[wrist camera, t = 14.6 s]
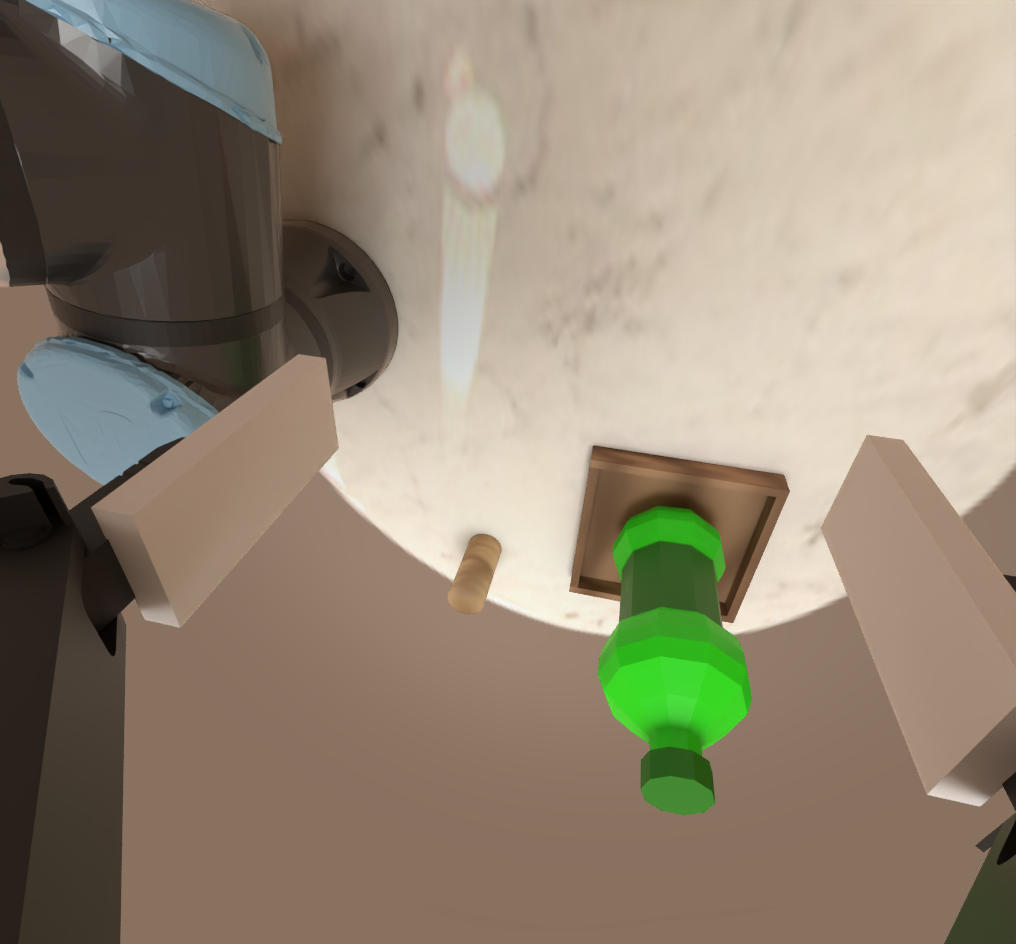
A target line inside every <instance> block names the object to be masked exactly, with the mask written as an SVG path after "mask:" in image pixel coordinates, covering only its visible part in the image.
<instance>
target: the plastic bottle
mask: <svg viewBox="0 0 1016 944" xmlns="http://www.w3.org/2000/svg"><path fill="white" fill-rule="evenodd" d="M612 554H613V558H614V561H615V564H616V567H617V570H618V574H619V577H620V579H621V598H620V616H619V624H618V625H617V627H616V628H615V630H614V631H613V633H612V634H611V636H610V637H609V639H608V640H607V642H606V643H605V645H604V647H603V650H602V653H601V655H600V658H599V667H598V676H599V679H600V682H601V685H602V688H603V691H604V693H605V696H606V699H607V701H608V704H609V706H610V709H611V712H612V714H613V716H614V717H615V718H616V719H617V720H618V721H620V722H621V723H622V724H623V725H624V726H626V727H627V728H628V729H629V730H630V731H632V732H633V733H634V734H636V735H637V736H639V737H640V738H642V739H643V740H644V741H646V742H647V743H649V744H650V751H649V752H648V753H647V754H646V755H645V756H644V757H643V758H642V759H641V791H642V793H643V796H644V799H645V801H647V802H648V803H650V804H652V805H653V806H655V807H657V808H658V809H660V810H662V811H667V812H672V813H677V814H682V815H687V814H695V813H704V812H705V811H707V810H708V809H709V808H710V807H712V806H713V805H714V804H715V796H714V785H713V774H712V770H711V766H710V762H709V761H708V760H707V759H705V758H703V757H702V750H703V749H705V748H707V747H709V746H711V745H712V744H713V743H715V742H716V741H718V740H719V739H721V738H722V737H724V736H725V735H726V734H727V733H728V732H729V731H730V730H731V729H732V728H734V727H735V726H736V725H737V724H738V723H739V722H740V721H741V720H742V719H743V718H744V717H745V716H746V715H747V714H748V711H749V707H750V704H751V701H752V696H751V690H750V684H749V679H748V673H747V668H746V662H745V657H744V652H743V650H742V647H741V645H740V643H739V641H738V639H737V638H736V637H735V636H734V635H732V634H731V633H729V632H728V631H727V630H725V629H724V628H723V626H722V618H721V611H720V604H719V597H718V590H717V582H718V581H719V580H720V578H721V577H722V575H723V573H724V570H725V568H726V567H725V561H724V555H723V550H722V544H721V539H720V534H719V532H718V531H717V530H716V529H715V528H714V527H713V526H712V525H711V524H709V523H708V522H707V521H705V520H704V519H703V518H701V517H700V516H699V515H697V514H696V513H695V512H693V511H692V510H691V509H684V508H675V507H665V506H656V507H654V508H651V509H649V510H647V511H644V512H642V513H639V514H637V515H635V516H632V517H630V518H629V520H628V521H627V522H626V524H625V526H624V527H623V529H622V531H621V533H620V534H619V536H618V538H617V539H616V541H615V543H614V545H613V552H612Z"/></svg>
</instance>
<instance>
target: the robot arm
mask: <svg viewBox="0 0 1016 944" xmlns="http://www.w3.org/2000/svg"><path fill="white" fill-rule="evenodd" d="M279 145H282V137H281V134H280V133H279V131H278V130H277V124H276V113H275V102H274V91H273V80H272V70H271V65H270V61H269V58H268V56H267V53H266V51H265V49H264V47H263V46H262V44H261V42H260V41H259V39H258V38H257V37H256V36H255V35H254V33H253V32H252V31H251V30H249V29H248V28H247V27H246V26H245V25H243V24H242V23H241V22H239V21H238V20H236V19H234V18H232V17H230V16H227V15H225V14H223V13H221V12H218V11H216V10H213V9H211V8H209V7H206V6H204V5H201V4H199V3H196V2H193V1H191V0H0V287H13V286H28V285H42V284H44V286H45V288H46V291H47V294H48V297H49V301H50V304H51V308H52V311H53V314H54V317H55V321H56V324H57V328H58V336H57V337H49V338H46V339H44V340H42V341H40V342H38V343H36V345H35V346H34V347H33V350H32V351H30V352H29V353H28V354H27V355H26V358H25V361H24V362H23V363H21V364H20V366H19V368H18V374H17V384H18V388H19V393H20V397H21V399H22V402H23V404H24V406H25V408H26V410H27V412H28V414H29V416H30V417H31V419H32V420H33V422H34V423H35V425H36V426H37V428H38V429H39V430H40V432H41V433H42V434H43V435H44V437H45V438H46V439H47V440H48V441H49V442H50V443H51V444H52V445H53V446H54V447H55V448H56V449H57V450H58V451H59V452H60V453H61V454H62V455H63V456H64V457H65V458H66V459H67V460H69V461H70V462H71V463H72V464H73V465H75V466H76V467H78V468H79V469H81V470H82V471H83V472H85V473H86V474H87V475H88V476H90V477H91V478H93V479H94V480H96V481H97V482H99V483H100V484H102V485H104V486H103V487H102V488H100V489H99V490H97V491H96V492H94V493H93V494H92V495H90V496H89V497H88V498H86V499H85V500H83V501H82V502H80V503H79V504H78V505H76V506H75V507H74V508H72V509H71V510H68V509H67V506H66V504H65V503H64V501H63V499H62V497H61V495H60V493H59V491H58V489H57V487H56V485H55V483H54V481H53V480H52V479H50V478H49V477H47V476H45V475H40V474H31V473H28V474H18V475H10V476H7V477H3V478H0V944H120V922H121V869H122V868H121V867H122V866H121V865H122V814H123V763H124V761H123V760H124V709H125V653H126V624H125V621H124V618H123V616H122V614H121V611H122V610H123V609H124V608H125V607H126V606H127V605H128V604H129V603H130V602H131V601H132V600H133V599H134V598H135V600H136V602H137V604H138V606H139V608H140V610H141V612H142V615H143V617H144V619H145V620H148V621H153V622H158V623H162V624H166V625H171V626H175V627H182V626H183V624H184V623H185V622H186V621H187V620H188V619H189V617H190V616H191V615H192V614H193V613H194V612H195V611H196V610H197V608H198V607H199V606H200V605H201V604H202V603H203V602H204V600H205V599H206V598H207V597H208V596H209V595H210V594H211V593H212V591H213V590H214V589H215V588H216V587H217V586H218V585H219V583H220V582H221V581H222V580H223V579H224V578H225V577H226V575H227V574H228V573H229V572H230V571H231V570H232V569H233V568H234V566H235V565H236V564H237V563H238V562H239V561H240V560H241V558H242V557H243V556H244V555H245V554H246V552H248V550H249V549H250V548H251V547H252V546H253V545H254V543H256V541H257V540H258V539H259V538H260V537H261V536H262V535H263V533H264V532H265V531H266V530H267V529H268V528H269V527H270V525H271V524H272V523H273V522H274V521H275V520H276V519H277V517H278V516H279V515H280V514H281V513H282V512H283V511H284V510H285V508H286V507H287V506H288V505H289V504H290V503H291V502H292V500H293V499H294V498H295V497H296V496H297V495H298V494H299V493H300V491H301V490H302V489H303V488H304V487H305V485H307V483H308V482H309V481H310V480H311V479H312V478H313V477H314V475H315V474H316V473H317V472H318V471H319V470H320V469H321V468H322V466H323V465H324V464H325V463H326V462H327V461H328V460H329V458H330V457H331V456H332V455H333V454H334V453H335V452H336V450H337V449H338V448H339V447H338V440H337V433H336V426H335V419H334V412H333V405H332V403H333V402H336V401H340V400H344V399H347V398H350V397H353V396H355V395H357V394H359V393H360V392H362V391H364V390H365V389H366V388H368V387H369V386H370V385H371V384H372V383H373V382H374V381H375V380H376V379H377V378H378V377H379V376H380V375H381V374H382V373H383V372H384V370H385V369H386V368H387V366H388V365H389V363H390V361H391V359H392V357H393V354H394V351H395V347H396V343H397V334H398V324H397V315H396V310H395V305H394V302H393V299H392V296H391V293H390V291H389V288H388V286H387V284H386V282H385V280H384V278H383V277H382V275H381V273H380V272H379V270H378V269H377V268H376V266H375V265H374V263H373V262H372V261H371V260H370V259H369V257H368V256H367V255H366V254H365V253H364V252H363V251H362V250H361V249H360V248H359V247H358V246H356V245H355V244H354V243H353V242H352V241H350V240H349V239H348V238H346V237H345V236H343V235H342V234H340V233H338V232H336V231H335V230H332V229H330V228H328V227H326V226H323V225H320V224H317V223H314V222H309V221H303V220H287V221H282V206H281V181H280V156H279ZM821 529H822V532H823V534H824V537H825V539H826V542H827V544H828V547H829V549H830V552H831V554H832V557H833V559H834V562H835V564H836V567H837V569H838V572H839V575H840V577H841V580H842V582H843V585H844V587H845V590H846V592H847V595H848V597H849V600H850V601H851V604H852V607H853V610H854V612H855V615H856V617H857V620H858V622H859V625H860V627H861V630H862V632H863V635H864V637H865V640H866V642H867V645H868V648H869V650H870V653H871V655H872V658H873V660H874V663H875V665H876V667H877V670H878V673H879V675H880V678H881V680H882V682H883V685H884V688H885V690H886V693H887V695H888V698H889V700H890V703H891V705H892V708H893V710H894V713H895V716H896V718H897V721H898V723H899V726H900V728H901V731H902V733H903V736H904V738H905V741H906V743H907V745H908V748H909V751H910V753H911V755H912V758H913V761H914V763H915V766H916V768H917V771H918V773H919V776H920V778H921V781H922V783H923V786H924V789H925V791H926V794H927V795H931V796H935V797H940V798H945V799H949V800H953V801H958V802H962V803H967V804H971V805H976V806H981V805H983V804H984V803H985V802H986V801H987V800H988V799H989V798H990V797H992V796H993V795H994V794H995V793H996V792H997V791H999V790H1000V789H1001V788H1002V787H1004V789H1005V791H1006V793H1007V795H1008V796H1009V798H1010V801H1011V803H1012V805H1013V806H1014V809H1015V810H1016V577H1015V576H1009V575H1003V574H1002V573H1001V572H1000V571H999V569H998V568H997V567H996V565H995V564H994V562H993V561H992V560H991V558H990V557H989V556H988V554H987V553H986V551H985V550H984V549H983V547H982V546H981V545H980V543H979V542H978V541H977V539H976V538H975V537H974V535H973V534H972V533H971V531H970V530H969V529H968V527H967V526H966V524H965V523H964V522H963V520H962V519H961V518H960V516H959V515H958V514H957V512H956V511H955V509H954V508H953V507H952V505H951V504H950V503H949V501H948V500H947V499H946V497H945V496H944V495H943V493H942V492H941V490H940V489H939V488H938V486H937V485H936V484H935V482H934V481H933V480H932V478H931V477H930V476H929V474H928V473H927V471H926V470H925V469H924V467H923V466H922V465H921V463H920V462H919V461H918V459H917V458H916V457H915V455H914V454H913V452H912V451H911V450H910V448H909V447H908V446H907V444H906V443H905V442H904V440H899V439H892V438H885V437H878V436H871V435H867V436H866V438H865V440H864V442H863V444H862V446H861V448H860V450H859V452H858V454H857V456H856V458H855V460H854V462H853V464H852V466H851V468H850V470H849V472H848V474H847V476H846V478H845V480H844V482H843V484H842V486H841V488H840V490H839V492H838V494H837V497H836V499H835V501H834V503H833V505H832V507H831V509H830V511H829V513H828V515H827V517H826V519H825V521H824V523H823V525H822V527H821ZM991 846H992V847H991ZM976 847H978V848H979V849H980V850H982V851H983V852H985V851H986V850H987V849H989V848H990V847H991V849H990V851H989V853H988V855H987V857H986V859H985V862H984V863H983V865H982V867H981V870H980V872H979V874H978V876H977V878H976V880H975V882H974V884H973V886H972V888H971V890H970V892H969V894H968V896H967V898H966V900H965V903H964V905H963V907H962V908H961V911H960V912H959V915H958V917H957V919H956V921H955V923H954V925H953V927H952V929H951V931H950V933H949V935H948V937H947V939H946V941H945V943H944V944H1016V813H1015V814H1014V815H1012V816H1011V817H1010V818H1009V819H1007V820H1006V821H1005V822H1004V823H1002V824H1001V825H1000V826H999V827H998V828H996V829H995V830H994V831H993V832H991V833H990V834H989V835H988V836H986V837H985V838H984V839H983V840H982V841H980V842H979V843H978V844H977V845H976Z"/></svg>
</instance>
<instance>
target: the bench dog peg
mask: <svg viewBox="0 0 1016 944" xmlns="http://www.w3.org/2000/svg"><path fill="white" fill-rule="evenodd" d="M500 554H501V545H500V543H499V542H498V541H497V540H496V539H495V538H493V537H491V536H489V535H485V534H479V535H476V536H474V537H472V538H471V540H470V542H469V544H468V547H467V549H466V552H465V554H464V557H463V559H462V562H461V564H460V567H459V569H458V572H457V574H456V577H455V579H454V582H453V584H452V587H451V589H450V592H449V594H448V602H449V604H450V605H451V606H452V607H453V608H454V609H455V610H457V611H458V612H461V613H464V614H476V613H479V612H480V611H481V610H482V609H483V606H484V603H485V600H486V597H487V594H488V591H489V588H490V584H491V581H492V578H493V575H494V572H495V569H496V566H497V563H498V560H499V557H500Z"/></svg>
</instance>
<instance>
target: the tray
mask: <svg viewBox="0 0 1016 944" xmlns="http://www.w3.org/2000/svg"><path fill="white" fill-rule="evenodd" d="M789 492H790V490H789V488H788V485H787V482H786V479H785V476H784V475H779V474H773V473H766V472H760V471H753V470H747V469H740V468H734V467H727V466H721V465H715V464H708V463H702V462H695V461H689V460H682V459H676V458H669V457H663V456H656V455H650V454H643V453H637V452H630V451H624V450H617V449H611V448H605V447H598V446H593V452H592V458H591V464H590V470H589V476H588V482H587V488H586V493H585V499H584V505H583V511H582V517H581V523H580V529H579V535H578V541H577V547H576V553H575V559H574V565H573V571H572V577H571V583H570V590H569V592H574V593H579V594H584V595H589V596H594V597H600V598H605V599H610V600H615V601H620V598H621V579H620V577H619V574H618V570H617V567H616V564H615V561H614V558H613V554H612V552H613V545H614V543H615V541H616V539H617V538H618V536H619V534H620V533H621V531H622V529H623V527H624V526H625V524H626V522H627V521H628V520H629V518H630V517H632V516H635V515H637V514H639V513H642V512H644V511H647V510H649V509H651V508H654V507H656V506H665V507H675V508H684V509H691V510H692V511H693V512H695V513H696V514H697V515H699V516H700V517H701V518H703V519H704V520H705V521H707V522H708V523H709V524H711V525H712V526H713V527H714V528H715V529H716V530H717V531H718V532H719V534H720V539H721V544H722V550H723V555H724V561H725V567H726V568H725V570H724V573H723V575H722V577H721V578H720V580H719V581H718V582H717V590H718V597H719V604H720V611H721V618H722V621H724V622H730V623H733V622H734V620H735V617H736V615H737V613H738V610H739V608H740V606H741V603H742V601H743V599H744V596H745V594H746V592H747V589H748V587H749V585H750V583H751V580H752V578H753V576H754V573H755V571H756V569H757V566H758V564H759V562H760V559H761V557H762V555H763V552H764V550H765V548H766V545H767V543H768V541H769V538H770V536H771V534H772V531H773V529H774V527H775V524H776V522H777V520H778V517H779V515H780V513H781V510H782V508H783V506H784V504H785V501H786V499H787V497H788V494H789Z"/></svg>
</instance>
